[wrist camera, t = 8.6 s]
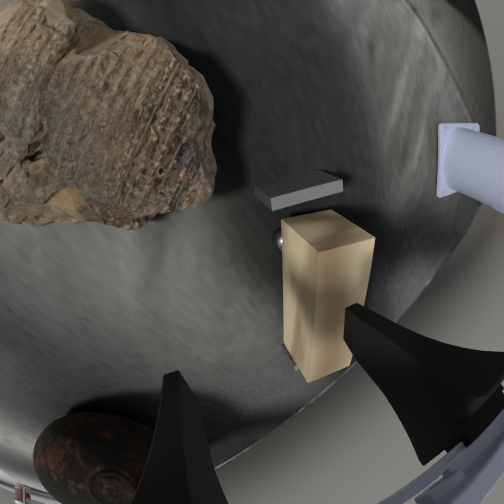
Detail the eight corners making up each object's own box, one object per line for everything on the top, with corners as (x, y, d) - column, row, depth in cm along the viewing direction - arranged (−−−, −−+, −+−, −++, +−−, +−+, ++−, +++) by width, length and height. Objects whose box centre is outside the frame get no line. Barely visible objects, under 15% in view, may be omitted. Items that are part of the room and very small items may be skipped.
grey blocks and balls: (318, 169, 19) (342, 179, 17) (326, 331, 28) (340, 349, 25) (253, 185, 18) (270, 198, 16) (282, 349, 27) (294, 370, 25)
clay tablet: (257, 84, 16) (12, -2, 6) (291, 79, 12) (-18, -21, 2) (162, 264, 20) (-54, 180, 10) (167, 307, 16) (-90, 203, 6)
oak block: (331, 209, 20) (375, 237, 16) (322, 329, 26) (349, 365, 22) (281, 219, 19) (318, 252, 15) (283, 342, 25) (307, 382, 21)
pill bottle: (14, 483, 30) (14, 508, 23) (15, 481, 30) (15, 507, 22) (29, 489, 33) (30, 513, 26) (31, 488, 32) (32, 513, 25)
